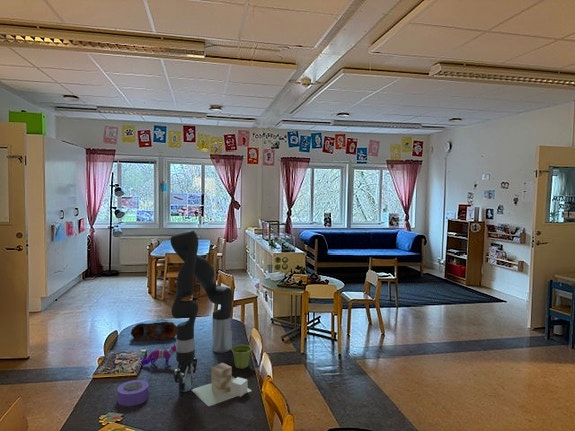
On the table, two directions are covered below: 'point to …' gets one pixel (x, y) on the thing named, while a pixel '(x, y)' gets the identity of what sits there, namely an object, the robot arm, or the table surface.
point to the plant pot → (241, 355)
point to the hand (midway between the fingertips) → (185, 387)
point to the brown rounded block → (154, 331)
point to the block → (239, 386)
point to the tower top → (221, 373)
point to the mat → (212, 394)
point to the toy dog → (159, 356)
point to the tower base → (221, 387)
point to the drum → (187, 382)
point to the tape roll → (133, 392)
